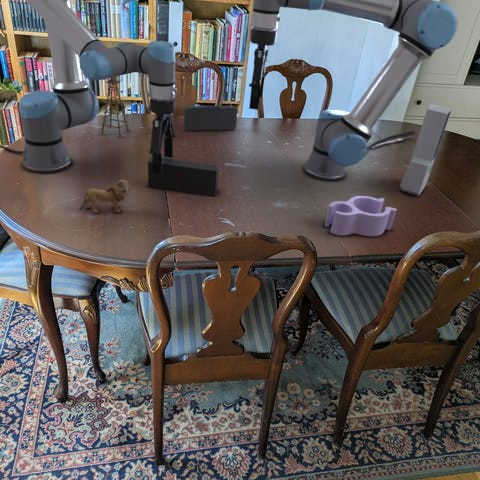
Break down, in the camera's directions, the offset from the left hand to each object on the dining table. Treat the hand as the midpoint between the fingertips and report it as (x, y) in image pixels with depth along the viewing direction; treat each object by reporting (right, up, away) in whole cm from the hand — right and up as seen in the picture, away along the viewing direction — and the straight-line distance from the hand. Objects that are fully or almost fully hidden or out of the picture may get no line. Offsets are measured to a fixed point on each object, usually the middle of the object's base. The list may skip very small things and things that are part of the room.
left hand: (163, 164), depth 150 cm
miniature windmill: (-26, +19, +40) cm, 51 cm away
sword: (+93, +19, +59) cm, 112 cm away
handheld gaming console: (+12, +24, +53) cm, 59 cm away
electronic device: (+88, -5, +21) cm, 90 cm away
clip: (+60, -20, -7) cm, 64 cm away
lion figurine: (-15, -15, -12) cm, 24 cm away
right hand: (+30, +19, -4) cm, 35 cm away
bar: (+6, -7, +4) cm, 10 cm away
